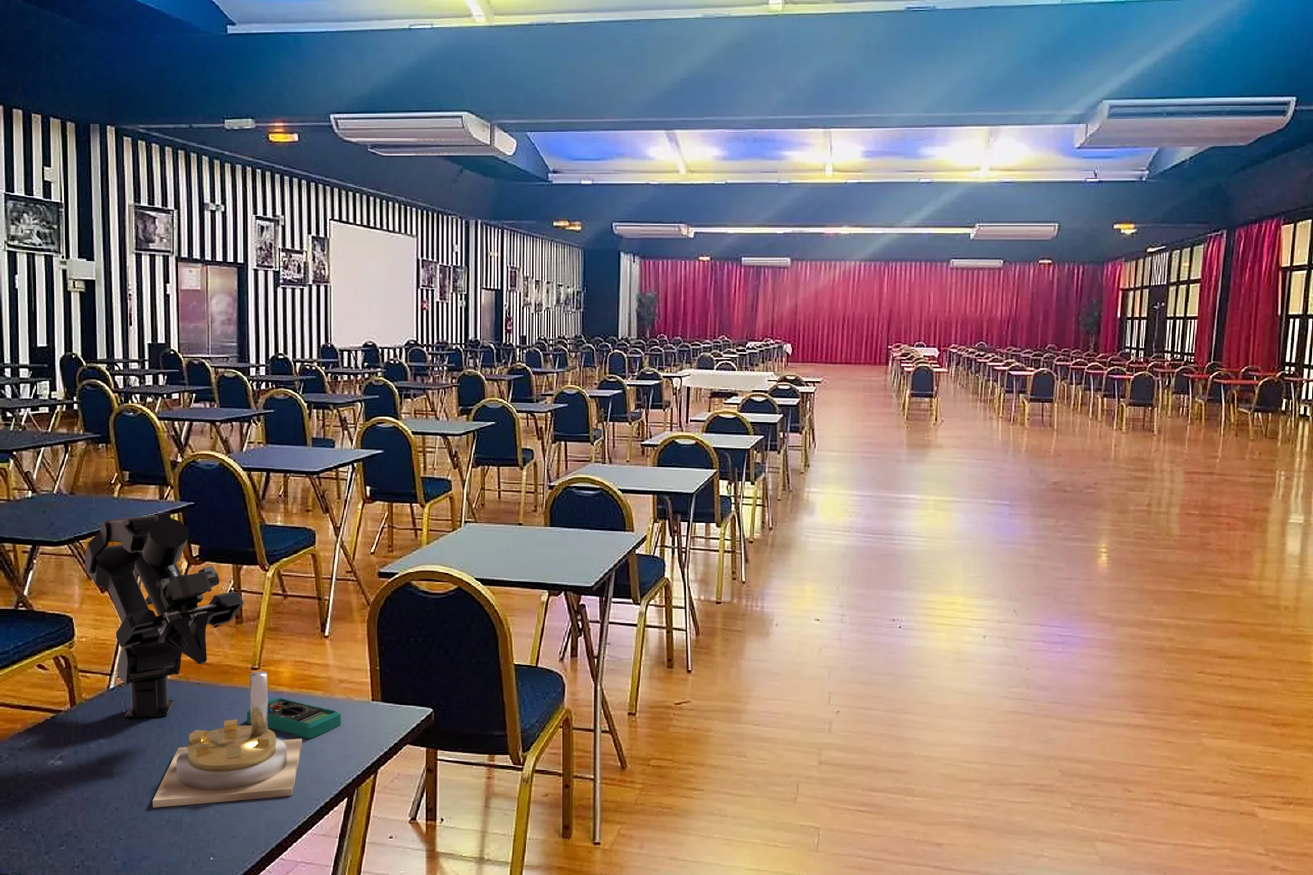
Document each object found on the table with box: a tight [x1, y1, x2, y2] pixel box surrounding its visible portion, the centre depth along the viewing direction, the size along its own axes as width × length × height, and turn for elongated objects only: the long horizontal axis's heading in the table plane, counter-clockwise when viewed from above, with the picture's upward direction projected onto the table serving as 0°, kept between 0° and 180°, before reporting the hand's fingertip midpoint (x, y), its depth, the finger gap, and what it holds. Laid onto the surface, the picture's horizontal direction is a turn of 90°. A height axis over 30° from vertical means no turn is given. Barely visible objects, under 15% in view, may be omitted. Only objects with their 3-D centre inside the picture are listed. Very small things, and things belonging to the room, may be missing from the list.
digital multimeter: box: [246, 697, 342, 740], centre depth 170 cm, size 7×15×3 cm, turn 64°
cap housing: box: [152, 737, 303, 808], centre depth 151 cm, size 18×18×3 cm
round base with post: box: [186, 670, 277, 772], centre depth 150 cm, size 12×12×11 cm
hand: (203, 662), depth 160 cm, fingers closed
